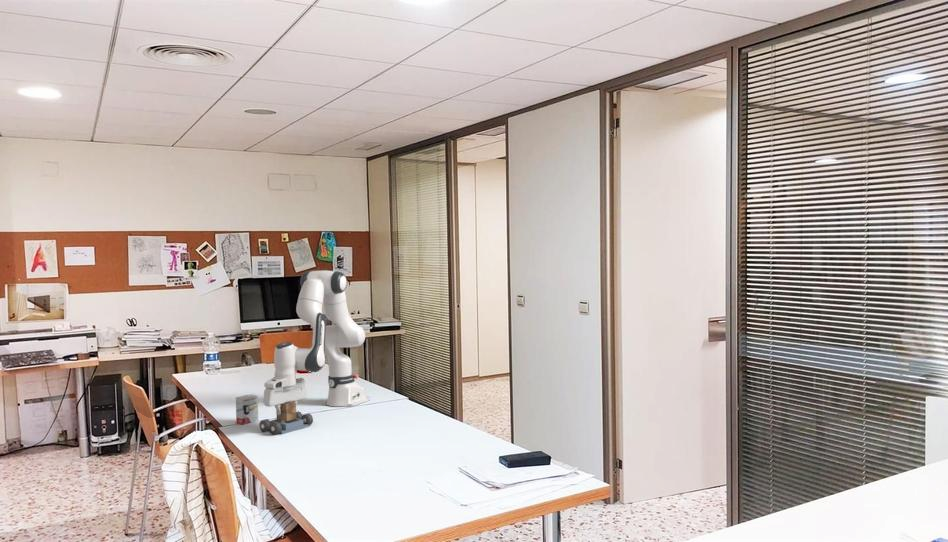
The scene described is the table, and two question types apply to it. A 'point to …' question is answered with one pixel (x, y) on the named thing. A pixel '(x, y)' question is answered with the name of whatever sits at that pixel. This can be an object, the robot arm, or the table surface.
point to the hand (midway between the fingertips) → (286, 412)
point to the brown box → (287, 411)
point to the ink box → (246, 409)
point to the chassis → (286, 424)
